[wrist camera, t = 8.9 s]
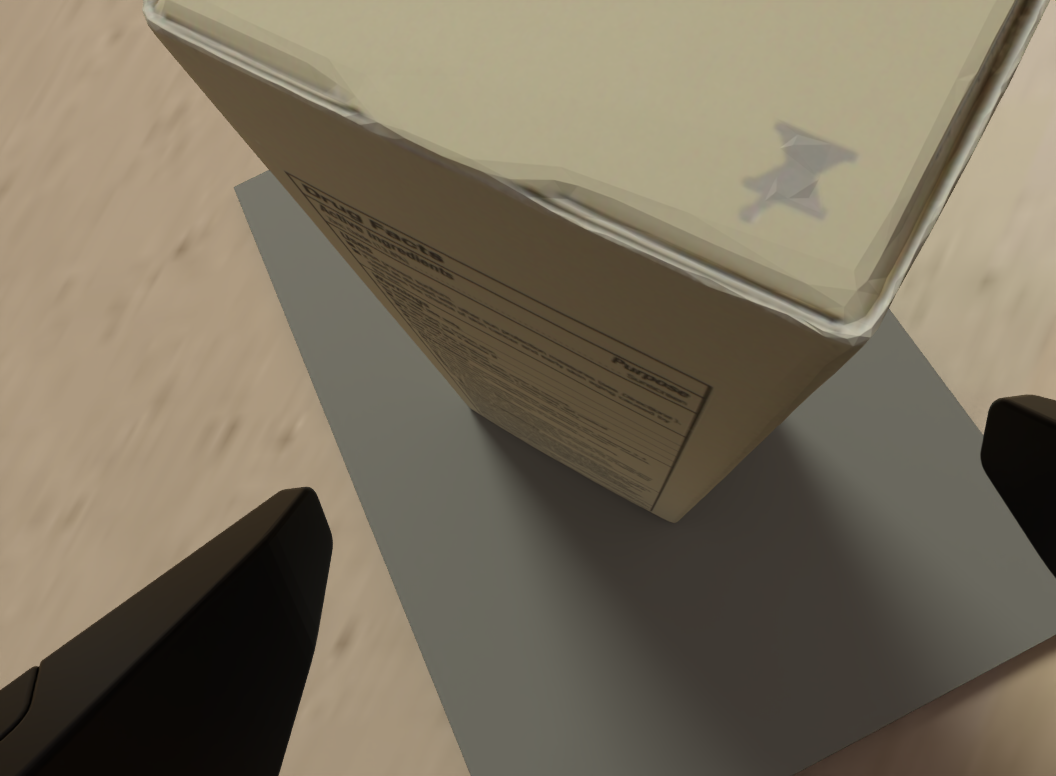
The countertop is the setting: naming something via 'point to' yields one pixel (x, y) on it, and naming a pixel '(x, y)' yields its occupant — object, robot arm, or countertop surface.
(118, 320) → the countertop surface
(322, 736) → the countertop surface
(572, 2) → the skincare box
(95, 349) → the countertop surface
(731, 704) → the slate mat
